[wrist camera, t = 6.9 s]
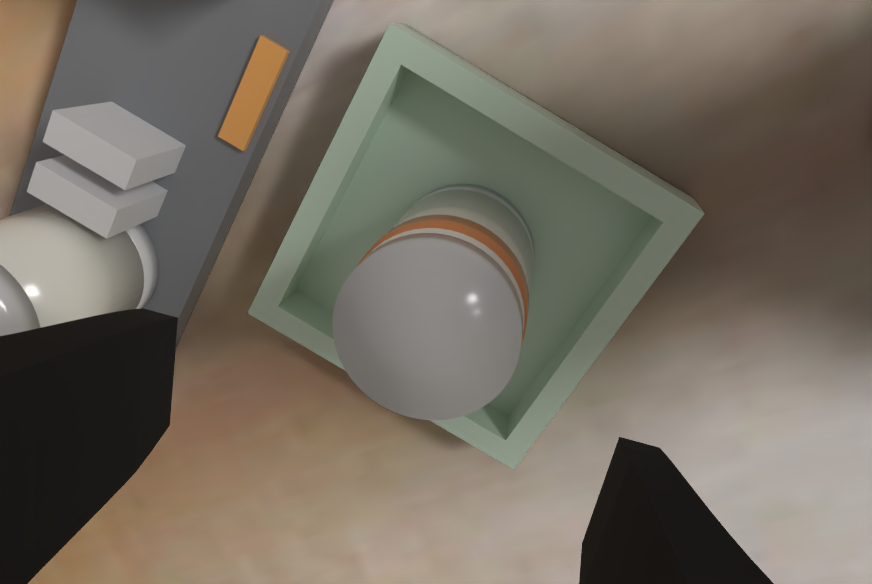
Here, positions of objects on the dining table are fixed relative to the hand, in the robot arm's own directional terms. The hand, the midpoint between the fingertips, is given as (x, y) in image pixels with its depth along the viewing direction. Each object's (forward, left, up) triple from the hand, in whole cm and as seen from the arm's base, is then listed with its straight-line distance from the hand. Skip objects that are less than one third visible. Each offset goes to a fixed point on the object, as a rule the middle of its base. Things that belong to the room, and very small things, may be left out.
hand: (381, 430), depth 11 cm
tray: (0, 0, -10) cm, 10 cm away
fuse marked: (0, 0, -10) cm, 10 cm away
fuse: (+10, +6, -9) cm, 15 cm away
